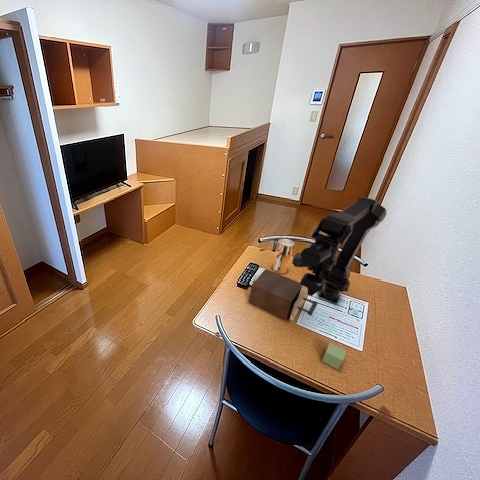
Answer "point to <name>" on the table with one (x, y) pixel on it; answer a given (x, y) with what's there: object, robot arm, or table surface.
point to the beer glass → (283, 255)
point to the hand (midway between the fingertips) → (312, 290)
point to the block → (334, 355)
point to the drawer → (300, 302)
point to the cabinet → (274, 293)
